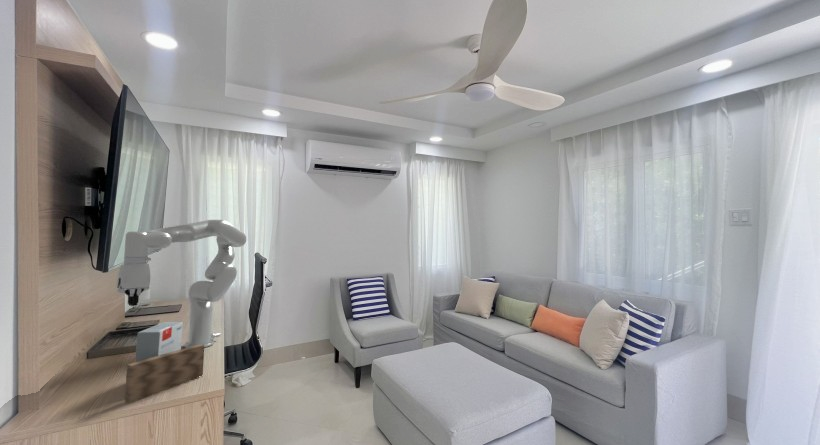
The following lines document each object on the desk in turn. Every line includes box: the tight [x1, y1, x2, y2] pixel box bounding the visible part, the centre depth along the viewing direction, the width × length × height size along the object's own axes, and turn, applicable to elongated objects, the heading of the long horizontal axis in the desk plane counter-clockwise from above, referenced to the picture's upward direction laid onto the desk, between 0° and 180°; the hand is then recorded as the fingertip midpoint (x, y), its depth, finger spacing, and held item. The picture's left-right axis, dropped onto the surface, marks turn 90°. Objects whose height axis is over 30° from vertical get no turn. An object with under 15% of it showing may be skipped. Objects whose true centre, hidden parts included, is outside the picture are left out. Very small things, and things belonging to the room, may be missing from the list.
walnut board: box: [124, 344, 205, 404], centre depth 118 cm, size 24×2×12 cm, turn 154°
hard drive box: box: [134, 321, 184, 362], centre depth 124 cm, size 16×8×20 cm, turn 7°
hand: (132, 305), depth 135 cm, fingers closed
